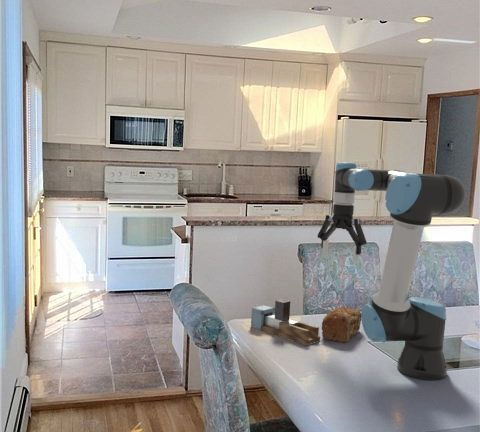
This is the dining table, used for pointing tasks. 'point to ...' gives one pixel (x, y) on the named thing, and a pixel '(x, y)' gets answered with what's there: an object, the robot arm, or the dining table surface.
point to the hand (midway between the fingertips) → (339, 260)
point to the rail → (295, 332)
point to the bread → (341, 324)
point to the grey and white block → (279, 315)
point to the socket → (260, 315)
